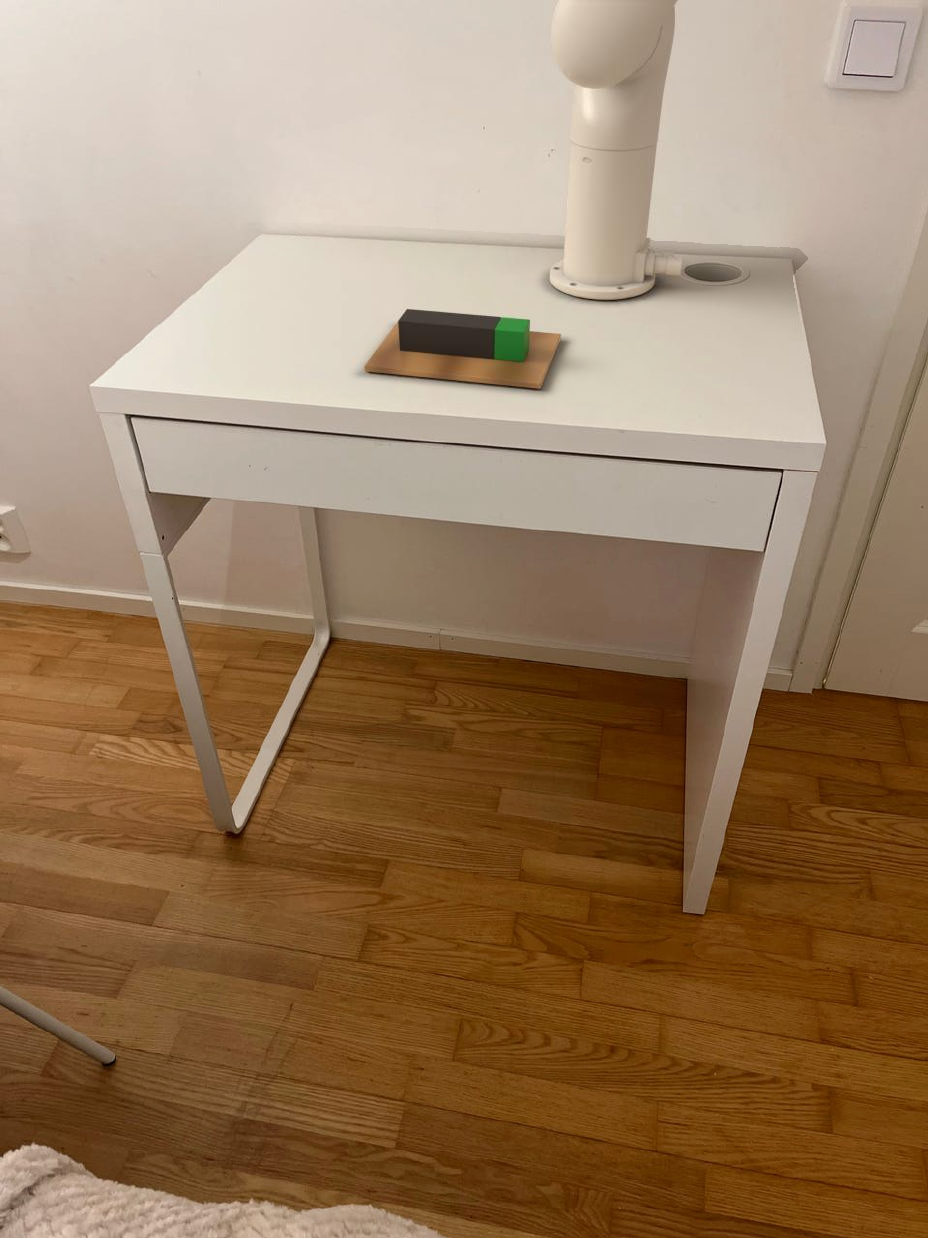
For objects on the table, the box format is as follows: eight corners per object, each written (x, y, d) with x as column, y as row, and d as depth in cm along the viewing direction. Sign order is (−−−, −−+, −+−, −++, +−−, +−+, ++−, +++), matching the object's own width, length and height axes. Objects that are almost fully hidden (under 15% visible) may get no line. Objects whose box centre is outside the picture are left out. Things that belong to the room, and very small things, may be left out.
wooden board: (560, 338, 100) (561, 333, 100) (540, 388, 91) (540, 383, 91) (399, 324, 103) (399, 319, 103) (364, 371, 94) (364, 365, 94)
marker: (399, 350, 97) (397, 320, 95) (408, 338, 99) (406, 308, 97) (523, 362, 94) (524, 331, 92) (529, 349, 97) (530, 319, 95)
